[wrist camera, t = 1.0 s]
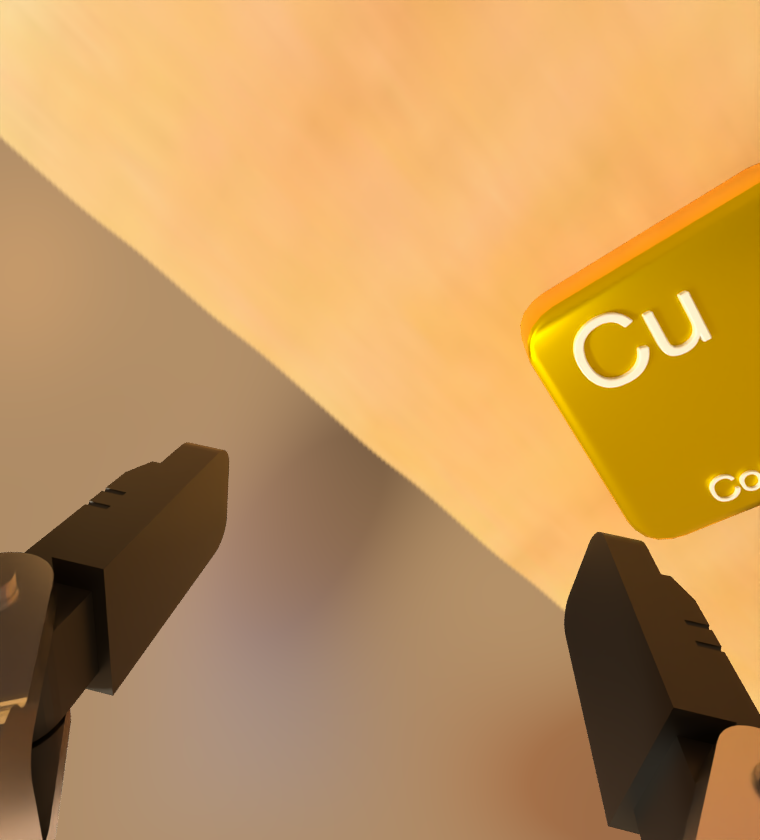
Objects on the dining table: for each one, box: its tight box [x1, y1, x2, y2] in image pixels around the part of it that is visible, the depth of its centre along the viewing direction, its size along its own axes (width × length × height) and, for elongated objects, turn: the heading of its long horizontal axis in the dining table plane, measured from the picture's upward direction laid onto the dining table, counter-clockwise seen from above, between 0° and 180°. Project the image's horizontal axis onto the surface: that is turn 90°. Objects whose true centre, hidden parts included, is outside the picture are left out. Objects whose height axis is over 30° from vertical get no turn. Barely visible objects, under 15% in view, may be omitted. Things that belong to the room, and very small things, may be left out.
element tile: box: [520, 163, 760, 540], centre depth 27 cm, size 15×15×5 cm
